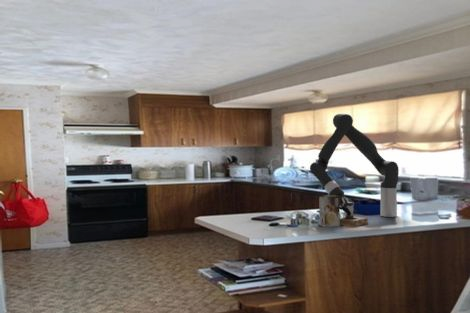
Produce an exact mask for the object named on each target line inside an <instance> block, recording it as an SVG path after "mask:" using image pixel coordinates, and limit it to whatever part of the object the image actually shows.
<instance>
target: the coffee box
mask: <svg viewBox="0 0 470 313" xmlns="http://www.w3.org/2000/svg"><path fill="white" fill-rule="evenodd" d="M318 201H319V202H318V204H319V205H318V206H319V207H318V208H319V210H318V211H319V214H318V216H319V222H318V224H319V226H321V227H324V228H328V227H329V228H330V227H340V226H341V225H340V217H341V214H340V212H341V210H340V208H339V196H335V195H329V194H327V195H319V196H318Z"/></svg>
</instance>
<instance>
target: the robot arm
mask: <svg viewBox="0 0 470 313" xmlns="http://www.w3.org/2000/svg"><path fill="white" fill-rule="evenodd" d="M353 122H354V119H353V117H352V116H351V115H350V114H347V113H337V114H335V115H334V116H333V118H332V124H333V127H335V130H334V132H333V133H332V135H331V136H330V137H329V138H328V140H326V142H325V143H324V144H323V146H322V147H321V149H320V151H319V153H318V159H317V162H316V161H314V162H312V163H311V164H310V166H309V170H310V172H311V174H312V175H313V176H314V178H316V179H317V180H318V181H319V183H320V184H321V186H322V187H323V188H324V190H325V192H326V193H327V195H335V196H339V208H340V211H344V212H345V214H346V213H347V215H348V216H349V215H351V212H350V210H349V209H348V208H347V206H346V204H345V202H353V200H352V198H350V197H346V196H345V191H344V190H343V189H342V188H341V186H340V185H339V183H337V182H336V181H335V179H334V178H333V176H331V174H329V173H328V172H327V171H326V170H327V169H328V165H329V162H330V160H331V158H332V156H333V154H334V152H335V150H336V149H337V147H338V146H339V144H340V142H341V141H342V140H343V138H344V137H345V136H346V138H347V139H348V140H349V142H351V143H352V144H353V146H354V147H355V148H356V150H358V151H359V152H360V153H361V154H362V155H363V156H364V157H365V158H366V160H368V161H369V162H370V163H371V164H372V166H373V167H374V168H375V169H376V171H377V172H378V173H379V174H380V175H381V176H383V177H384V180H383V181H382V182H380V209H379V210H380V216H381V217H385V218H387V217H388V218H391V217H392V218H394V217H397V216H398V200H397V191H398V190H397V185H398V183H399V166H398V163H396V161H392V160H385V159H384V158H383V156H382V155H380V153H379V152H378V149H377V145H376V144H375V143H374V141H373V140H372V139H371V138H369V136H367V135H366V133H365V134H364V132H361V130H359V129H357V128H356V127H355V126H354V125H353ZM354 206H355V203H354V204H353V216H355V215H357V211H356V210H355V209H354Z"/></svg>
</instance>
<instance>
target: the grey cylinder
mask: <svg viewBox="0 0 470 313" xmlns="http://www.w3.org/2000/svg"><path fill="white" fill-rule="evenodd" d="M345 204H346V206H347V208H348V209H349V210H350V212H351V215H349V216H348V215H347V213H346V212H345V216H346V219H351V220H352V219H353V216H354V215H353V208H354V206H353V204H354V205H355V202H354V201H352V202H345Z"/></svg>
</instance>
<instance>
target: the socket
mask: <svg viewBox="0 0 470 313" xmlns="http://www.w3.org/2000/svg"><path fill="white" fill-rule="evenodd" d="M342 216H343V218H341V219H340V226H345V227H353V228H354V227H359V226H363V225H368V224H369V218H368V217H362V216H361V217H360V216H355V215H353V219H352V220H351V219H346V215H342Z"/></svg>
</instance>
